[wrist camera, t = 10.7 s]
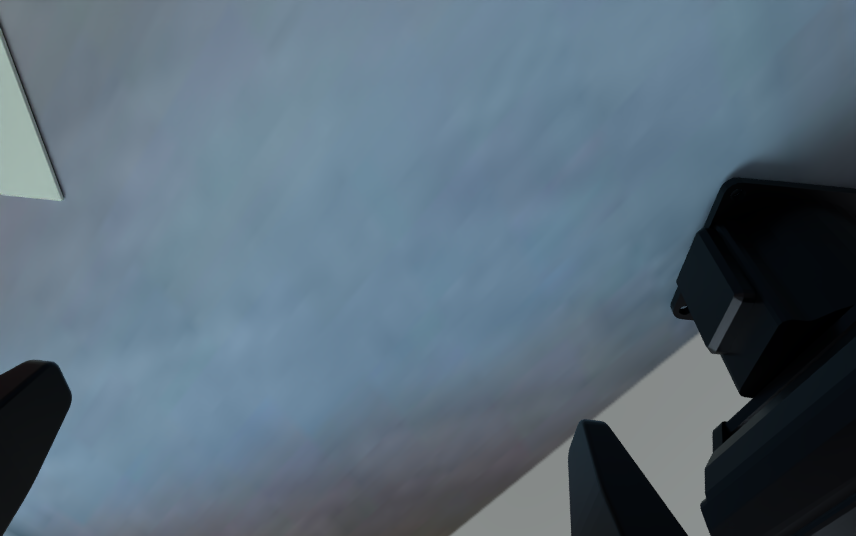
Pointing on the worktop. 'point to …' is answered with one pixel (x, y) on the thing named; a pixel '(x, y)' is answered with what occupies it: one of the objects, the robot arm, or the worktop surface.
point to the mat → (21, 140)
